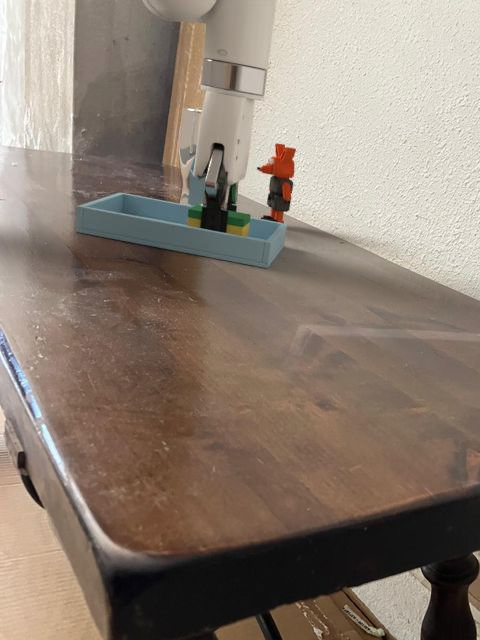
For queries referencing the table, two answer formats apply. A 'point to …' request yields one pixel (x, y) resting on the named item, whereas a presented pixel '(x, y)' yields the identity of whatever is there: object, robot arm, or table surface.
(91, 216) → the tray
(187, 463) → the table surface
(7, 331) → the table surface
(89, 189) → the table surface
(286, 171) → the toy animal
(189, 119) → the beer glass
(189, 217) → the sponge
